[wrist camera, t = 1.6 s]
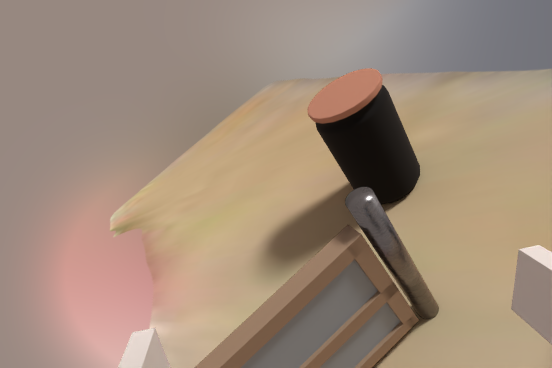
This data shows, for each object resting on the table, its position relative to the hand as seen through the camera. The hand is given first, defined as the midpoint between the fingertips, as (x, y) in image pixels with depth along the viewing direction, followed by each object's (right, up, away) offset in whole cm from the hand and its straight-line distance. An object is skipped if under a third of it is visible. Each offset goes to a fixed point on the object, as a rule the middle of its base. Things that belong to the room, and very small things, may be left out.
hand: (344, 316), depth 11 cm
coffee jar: (+16, +5, +40) cm, 44 cm away
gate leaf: (+4, -17, +22) cm, 28 cm away
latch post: (+14, -9, +24) cm, 29 cm away
